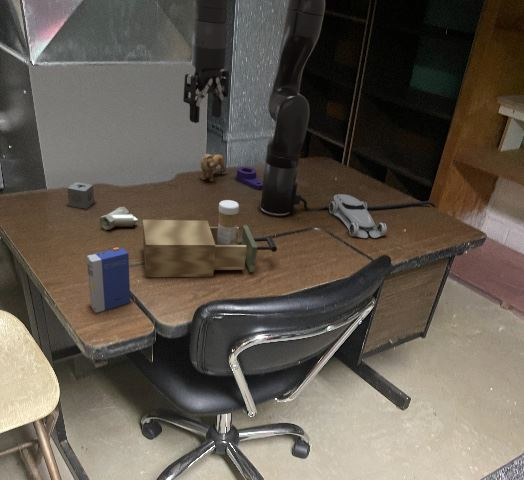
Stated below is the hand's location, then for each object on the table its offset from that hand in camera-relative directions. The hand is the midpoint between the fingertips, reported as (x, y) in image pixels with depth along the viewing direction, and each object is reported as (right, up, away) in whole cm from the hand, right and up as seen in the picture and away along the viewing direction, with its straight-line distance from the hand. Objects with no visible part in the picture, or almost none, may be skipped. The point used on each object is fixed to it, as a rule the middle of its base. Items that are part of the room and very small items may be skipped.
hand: (205, 119), depth 135 cm
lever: (+10, -1, +48) cm, 49 cm away
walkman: (-18, -46, -18) cm, 53 cm away
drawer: (+6, -34, +2) cm, 34 cm away
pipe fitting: (-23, -23, +12) cm, 35 cm away
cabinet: (-7, -35, -1) cm, 35 cm away
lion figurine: (-2, 0, +47) cm, 47 cm away
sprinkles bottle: (+5, -33, +1) cm, 33 cm away
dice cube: (-36, -15, +20) cm, 44 cm away
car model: (+41, -17, +32) cm, 55 cm away
